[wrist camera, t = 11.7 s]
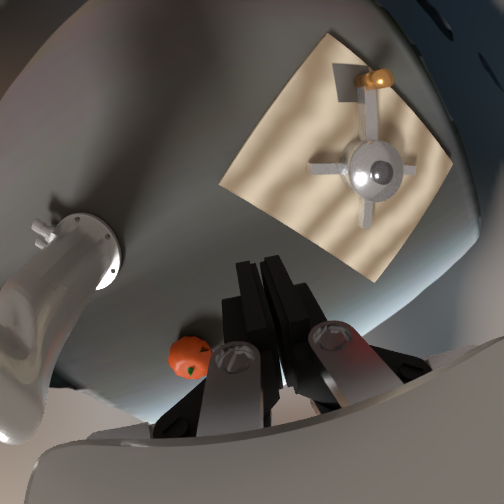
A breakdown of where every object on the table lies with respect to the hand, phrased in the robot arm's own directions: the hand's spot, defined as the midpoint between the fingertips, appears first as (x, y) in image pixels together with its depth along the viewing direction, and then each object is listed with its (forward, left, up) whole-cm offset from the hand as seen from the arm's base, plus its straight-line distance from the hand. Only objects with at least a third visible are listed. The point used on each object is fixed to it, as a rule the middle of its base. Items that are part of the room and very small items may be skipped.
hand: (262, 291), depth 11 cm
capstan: (+13, +14, -25) cm, 31 cm away
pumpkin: (+9, -28, -27) cm, 40 cm away
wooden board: (+14, +12, -27) cm, 33 cm away
